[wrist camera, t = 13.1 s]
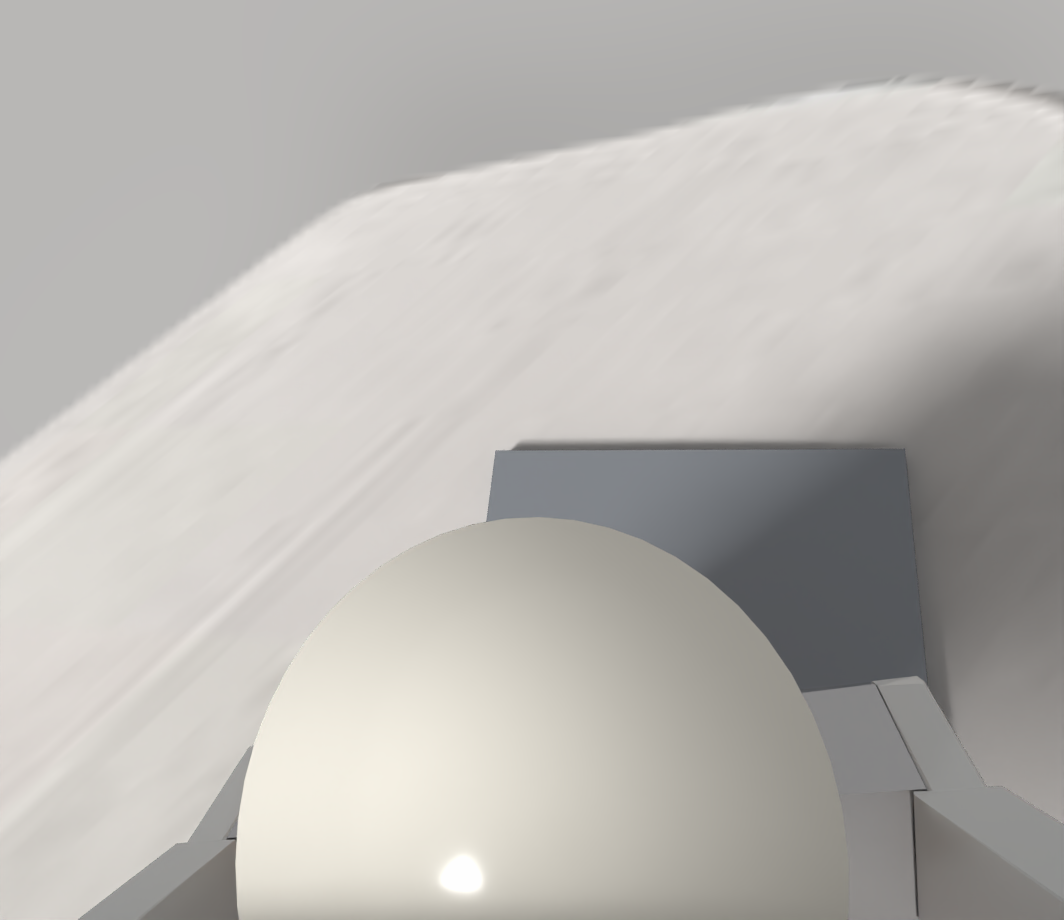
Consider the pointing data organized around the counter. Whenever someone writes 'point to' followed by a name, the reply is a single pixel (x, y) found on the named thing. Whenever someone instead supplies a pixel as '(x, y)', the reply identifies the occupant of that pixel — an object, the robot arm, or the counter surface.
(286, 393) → the counter surface
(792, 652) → the slate mat
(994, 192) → the counter surface
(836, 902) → the terracotta jar
